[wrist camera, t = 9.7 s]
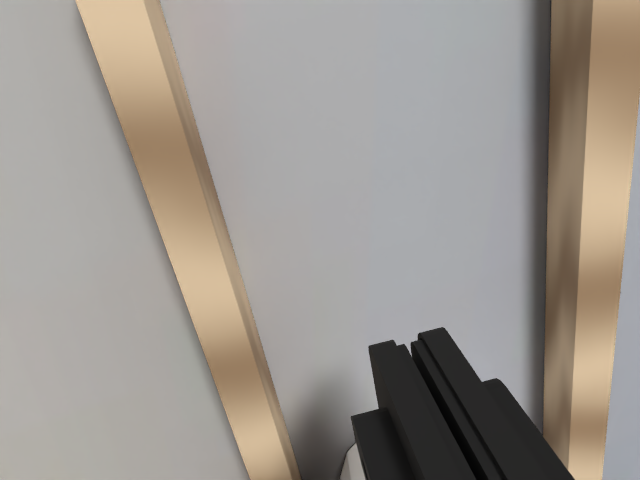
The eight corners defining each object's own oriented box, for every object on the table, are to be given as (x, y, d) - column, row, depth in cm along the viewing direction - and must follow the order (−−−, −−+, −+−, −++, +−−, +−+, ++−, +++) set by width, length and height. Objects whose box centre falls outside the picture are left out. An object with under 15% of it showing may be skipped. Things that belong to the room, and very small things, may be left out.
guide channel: (571, 502, 24) (595, 542, 22) (295, 564, 24) (297, 609, 22) (611, -181, 13) (669, -213, 11) (76, -71, 12) (44, -86, 11)
